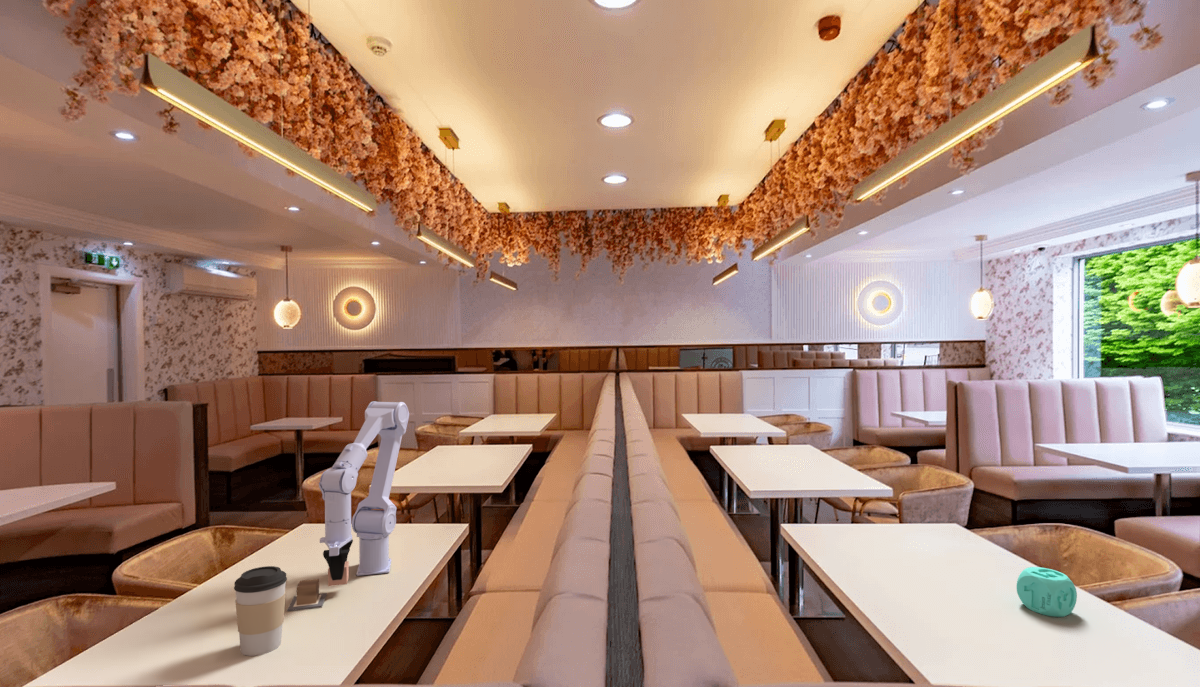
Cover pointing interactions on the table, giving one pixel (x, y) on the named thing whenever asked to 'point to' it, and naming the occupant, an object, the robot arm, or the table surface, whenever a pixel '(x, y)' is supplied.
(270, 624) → the coffee cup
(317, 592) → the walnut block
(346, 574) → the terracotta block
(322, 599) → the mat
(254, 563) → the table surface
